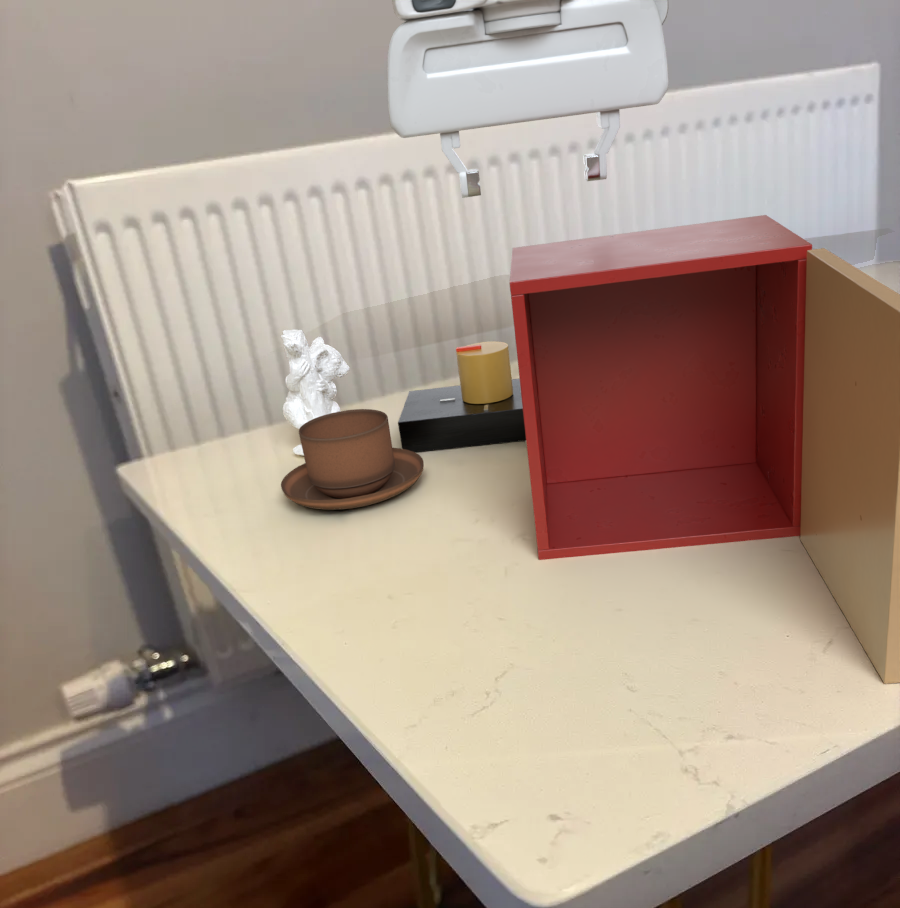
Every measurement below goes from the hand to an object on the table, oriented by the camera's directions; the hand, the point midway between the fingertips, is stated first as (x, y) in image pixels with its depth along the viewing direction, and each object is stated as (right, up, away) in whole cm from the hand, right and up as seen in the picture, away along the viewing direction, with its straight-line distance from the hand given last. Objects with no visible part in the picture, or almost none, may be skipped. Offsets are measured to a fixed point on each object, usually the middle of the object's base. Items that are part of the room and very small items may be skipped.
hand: (533, 188), depth 77 cm
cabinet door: (+19, -31, -19) cm, 41 cm away
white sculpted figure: (-18, -17, +20) cm, 32 cm away
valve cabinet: (+9, -25, -3) cm, 26 cm away
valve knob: (-3, -12, +19) cm, 22 cm away
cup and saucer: (-14, -22, +9) cm, 28 cm away
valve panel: (-4, -15, +20) cm, 25 cm away
